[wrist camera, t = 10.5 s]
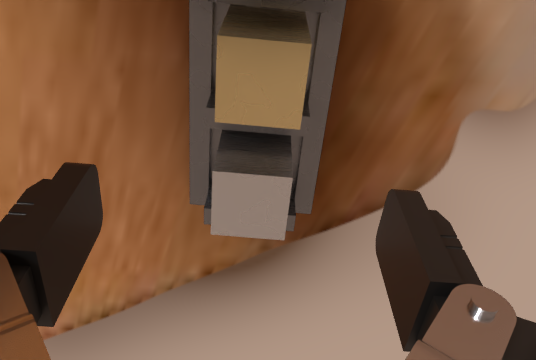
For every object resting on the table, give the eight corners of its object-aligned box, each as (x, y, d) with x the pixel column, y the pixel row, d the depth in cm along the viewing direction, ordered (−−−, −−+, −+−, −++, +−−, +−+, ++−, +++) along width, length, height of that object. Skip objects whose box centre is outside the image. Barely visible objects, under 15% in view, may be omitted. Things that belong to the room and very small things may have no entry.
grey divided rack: (193, 191, 32) (174, 258, 26) (194, -200, 21) (161, -234, 15) (309, 201, 32) (316, 269, 26) (371, -181, 21) (405, -207, 15)
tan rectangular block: (229, 5, 25) (217, 35, 20) (305, 12, 25) (311, 44, 20) (226, 77, 27) (214, 122, 22) (296, 84, 27) (300, 129, 22)
